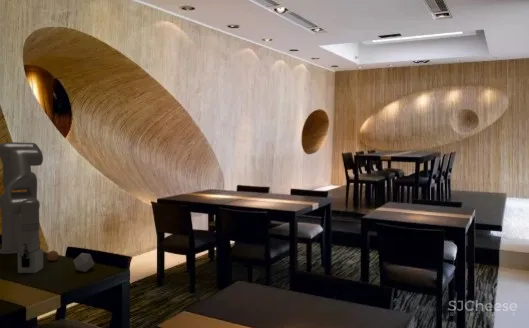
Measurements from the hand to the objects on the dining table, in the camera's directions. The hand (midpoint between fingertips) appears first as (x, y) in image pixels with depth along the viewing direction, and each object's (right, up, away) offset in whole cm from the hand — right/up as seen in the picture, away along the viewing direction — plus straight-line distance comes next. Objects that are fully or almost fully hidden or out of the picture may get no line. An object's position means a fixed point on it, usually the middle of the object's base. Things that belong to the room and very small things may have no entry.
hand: (30, 264), depth 202 cm
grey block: (0, -3, 0) cm, 3 cm away
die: (+24, -3, +1) cm, 24 cm away
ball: (+2, +1, +16) cm, 16 cm away
